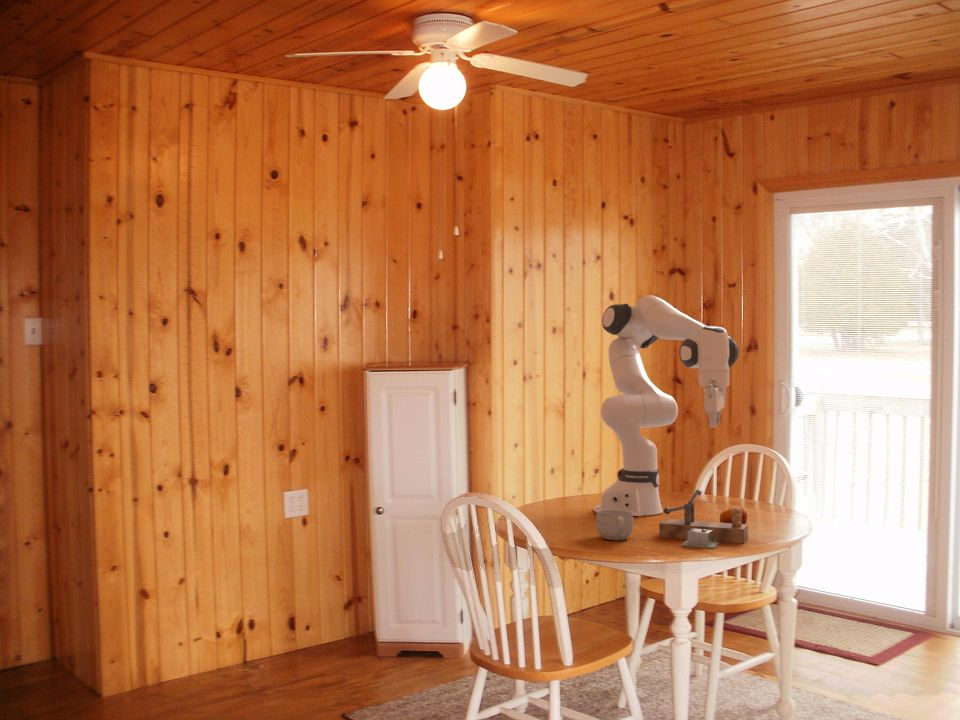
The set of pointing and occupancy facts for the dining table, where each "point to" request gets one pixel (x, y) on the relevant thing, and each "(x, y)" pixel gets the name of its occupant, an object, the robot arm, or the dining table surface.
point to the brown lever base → (706, 527)
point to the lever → (668, 510)
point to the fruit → (727, 516)
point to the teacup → (614, 523)
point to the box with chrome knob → (700, 537)
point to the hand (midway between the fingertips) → (714, 426)
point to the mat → (701, 545)
